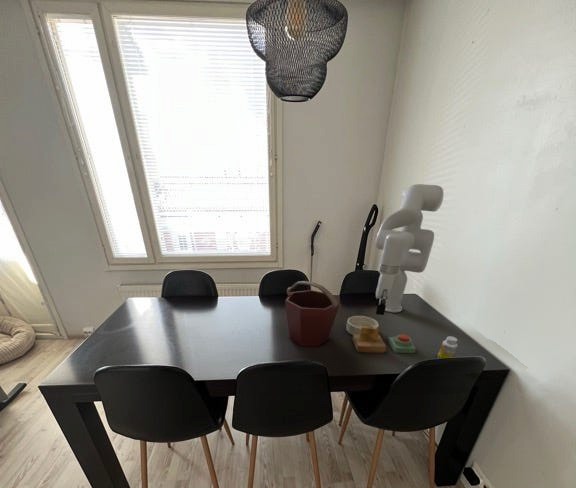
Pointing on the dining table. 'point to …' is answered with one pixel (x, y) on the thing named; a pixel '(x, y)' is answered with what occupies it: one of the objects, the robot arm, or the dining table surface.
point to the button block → (401, 345)
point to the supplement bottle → (448, 348)
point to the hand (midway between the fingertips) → (379, 309)
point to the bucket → (310, 314)
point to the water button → (403, 338)
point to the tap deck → (369, 344)
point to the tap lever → (369, 332)
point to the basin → (359, 324)
